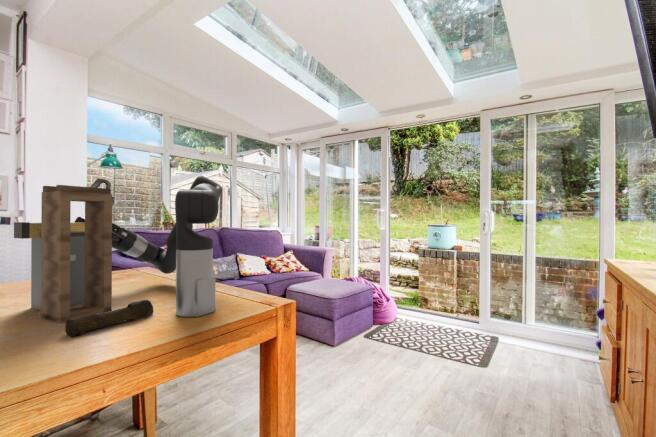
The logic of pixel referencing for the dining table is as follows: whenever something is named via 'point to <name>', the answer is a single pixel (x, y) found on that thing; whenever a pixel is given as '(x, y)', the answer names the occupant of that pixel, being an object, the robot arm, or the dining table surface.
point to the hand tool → (109, 318)
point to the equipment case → (75, 270)
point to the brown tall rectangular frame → (58, 252)
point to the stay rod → (34, 229)
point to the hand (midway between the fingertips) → (84, 219)
